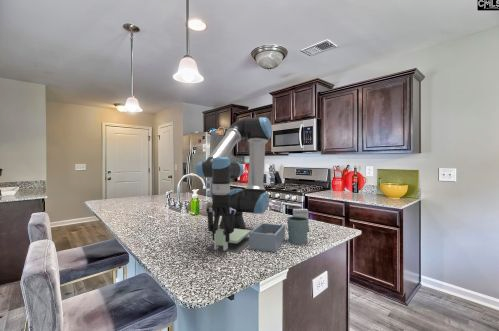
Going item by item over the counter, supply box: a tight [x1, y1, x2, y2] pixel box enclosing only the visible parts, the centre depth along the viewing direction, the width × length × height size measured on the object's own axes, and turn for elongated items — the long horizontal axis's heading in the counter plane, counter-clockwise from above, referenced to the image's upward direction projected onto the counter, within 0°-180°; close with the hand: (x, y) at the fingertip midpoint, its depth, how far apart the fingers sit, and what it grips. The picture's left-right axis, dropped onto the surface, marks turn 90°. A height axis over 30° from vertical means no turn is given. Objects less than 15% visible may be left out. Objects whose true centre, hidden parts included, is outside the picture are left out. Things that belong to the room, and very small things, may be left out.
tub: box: [248, 222, 286, 253], centre depth 116 cm, size 12×18×8 cm, turn 160°
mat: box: [206, 235, 249, 254], centre depth 118 cm, size 16×22×1 cm
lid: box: [212, 228, 252, 246], centre depth 115 cm, size 12×23×7 cm, turn 160°
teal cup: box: [286, 215, 309, 246], centre depth 120 cm, size 10×10×12 cm
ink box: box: [292, 208, 310, 232], centre depth 143 cm, size 9×5×12 cm, turn 84°
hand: (221, 248), depth 106 cm, fingers closed on lid, 3 cm apart
